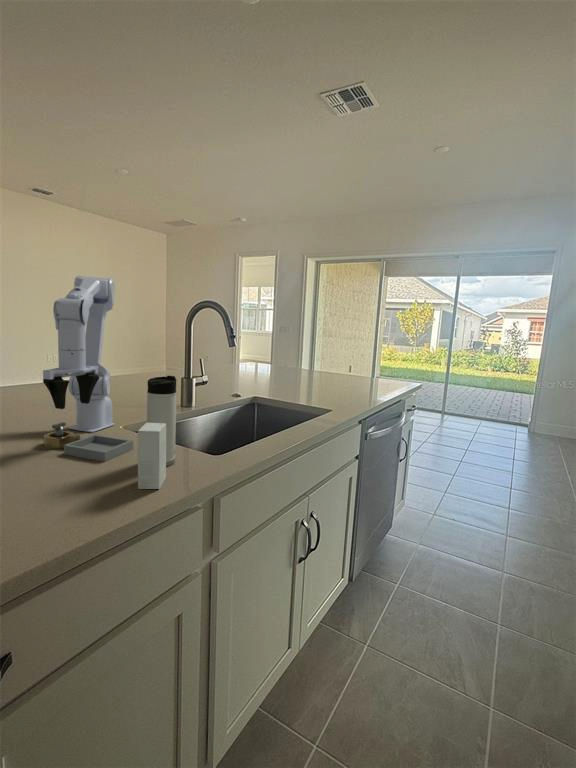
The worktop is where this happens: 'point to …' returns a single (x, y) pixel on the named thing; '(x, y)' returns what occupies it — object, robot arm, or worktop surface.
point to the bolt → (59, 429)
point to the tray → (98, 447)
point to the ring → (59, 439)
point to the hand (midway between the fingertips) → (72, 405)
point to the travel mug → (163, 410)
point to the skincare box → (151, 455)
